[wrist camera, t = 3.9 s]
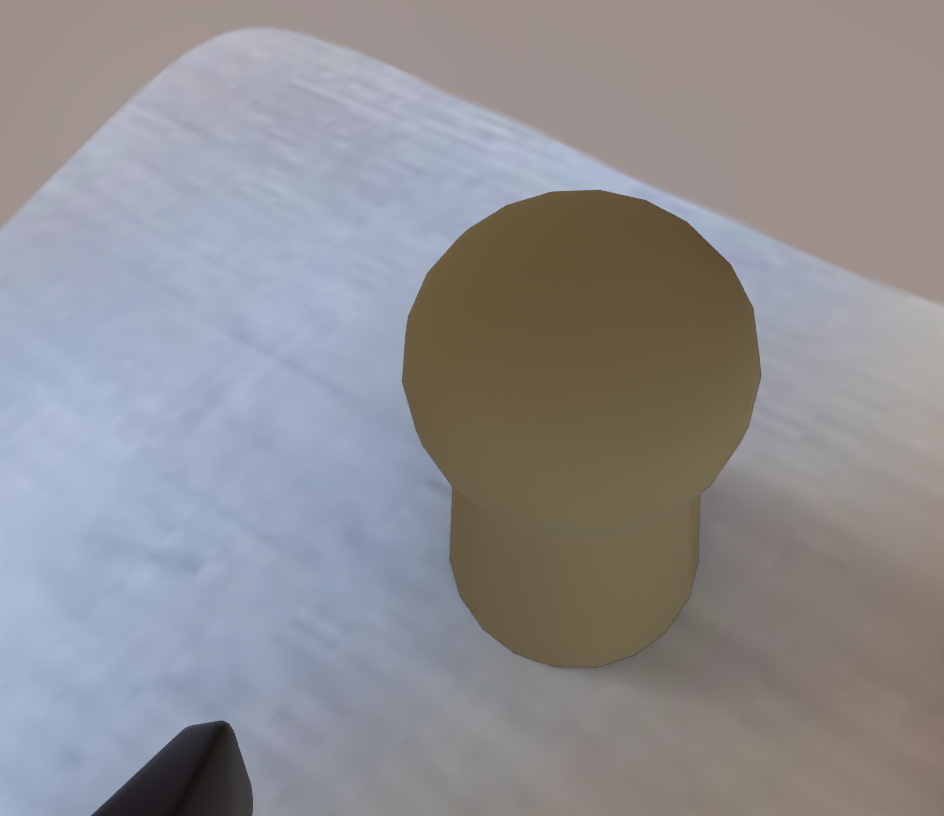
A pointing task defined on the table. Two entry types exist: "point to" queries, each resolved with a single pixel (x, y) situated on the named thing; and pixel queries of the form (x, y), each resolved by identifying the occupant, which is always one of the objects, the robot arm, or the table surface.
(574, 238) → the olive game pawn
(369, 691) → the table surface
